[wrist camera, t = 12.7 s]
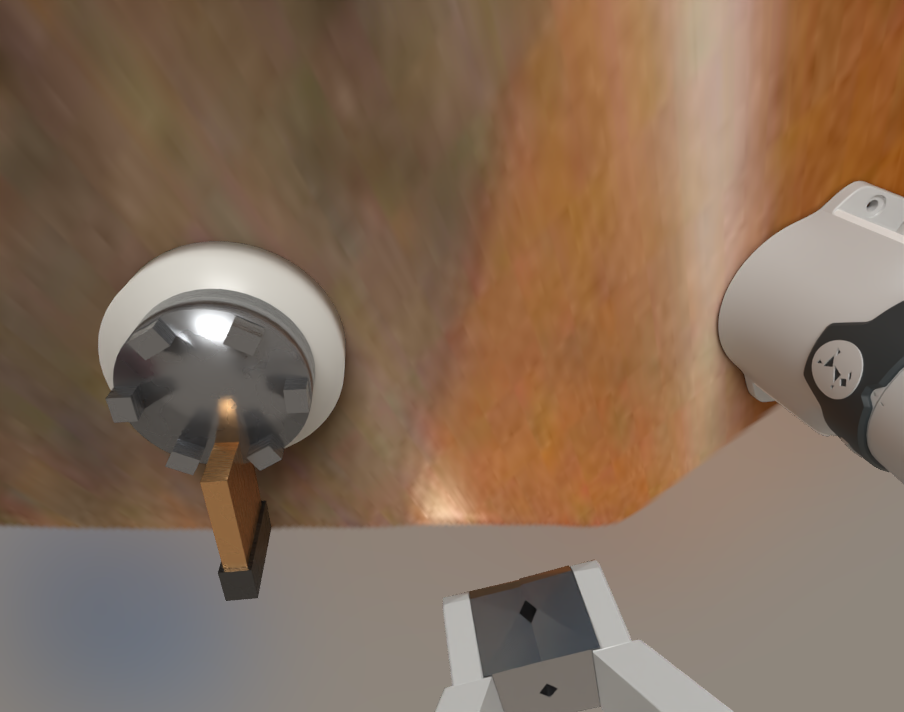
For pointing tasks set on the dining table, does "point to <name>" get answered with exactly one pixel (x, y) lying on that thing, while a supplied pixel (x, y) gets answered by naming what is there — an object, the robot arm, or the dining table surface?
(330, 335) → the white round plate
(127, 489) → the dining table surface
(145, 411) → the lugged steel disc
